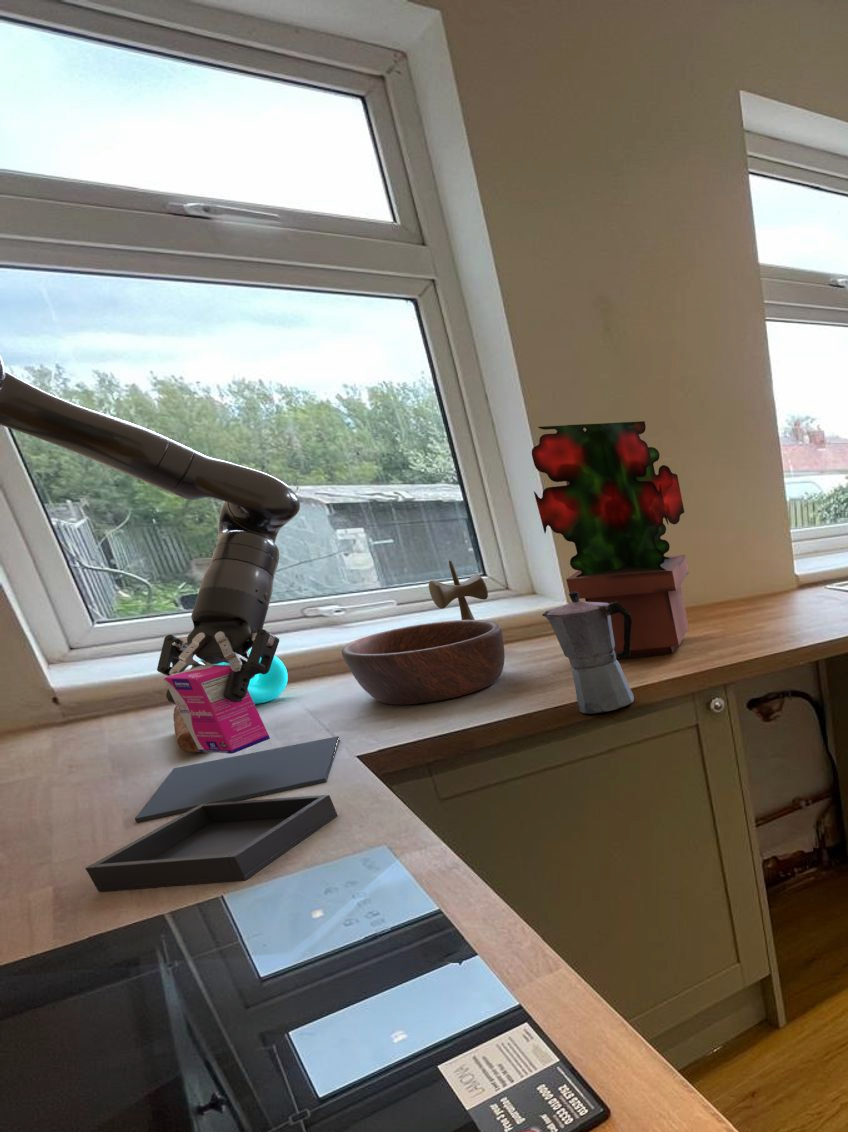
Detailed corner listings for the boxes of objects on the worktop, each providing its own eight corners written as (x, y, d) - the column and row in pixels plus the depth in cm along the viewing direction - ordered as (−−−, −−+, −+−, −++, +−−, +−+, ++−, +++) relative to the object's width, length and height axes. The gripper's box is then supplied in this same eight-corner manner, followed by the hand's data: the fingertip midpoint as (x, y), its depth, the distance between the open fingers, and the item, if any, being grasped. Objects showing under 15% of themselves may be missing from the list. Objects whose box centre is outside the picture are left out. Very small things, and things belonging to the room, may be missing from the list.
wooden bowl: (521, 690, 151) (505, 636, 147) (357, 722, 138) (335, 664, 134) (508, 660, 170) (494, 612, 166) (363, 686, 157) (344, 635, 153)
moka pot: (580, 698, 145) (551, 587, 137) (664, 695, 145) (640, 583, 137) (552, 717, 136) (519, 599, 129) (641, 714, 136) (613, 596, 128)
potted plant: (695, 657, 166) (647, 421, 148) (579, 668, 162) (517, 427, 144) (707, 630, 186) (666, 420, 168) (604, 640, 182) (552, 425, 164)
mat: (136, 822, 106) (134, 818, 106) (175, 771, 121) (173, 768, 121) (326, 781, 115) (324, 778, 115) (339, 739, 131) (338, 736, 131)
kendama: (448, 656, 175) (418, 563, 167) (495, 645, 182) (469, 555, 174) (459, 660, 172) (429, 565, 164) (507, 649, 179) (480, 557, 171)
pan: (98, 892, 90) (84, 868, 89) (211, 825, 104) (201, 803, 103) (245, 880, 91) (234, 856, 90) (338, 815, 105) (329, 794, 104)
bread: (230, 719, 143) (217, 689, 140) (220, 751, 129) (205, 718, 126) (182, 728, 139) (168, 698, 137) (167, 762, 125) (150, 728, 123)
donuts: (241, 711, 146) (217, 658, 142) (205, 707, 149) (181, 655, 145) (300, 693, 155) (279, 643, 151) (265, 690, 158) (244, 640, 154)
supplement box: (197, 753, 114) (160, 676, 110) (239, 737, 120) (205, 663, 115) (231, 754, 113) (195, 677, 109) (272, 738, 119) (239, 663, 114)
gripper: (158, 587, 114) (123, 693, 108) (265, 581, 115) (235, 686, 109) (205, 615, 121) (174, 716, 115) (305, 609, 122) (280, 709, 116)
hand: (204, 701), depth 112 cm, fingers closed on supplement box, 6 cm apart
